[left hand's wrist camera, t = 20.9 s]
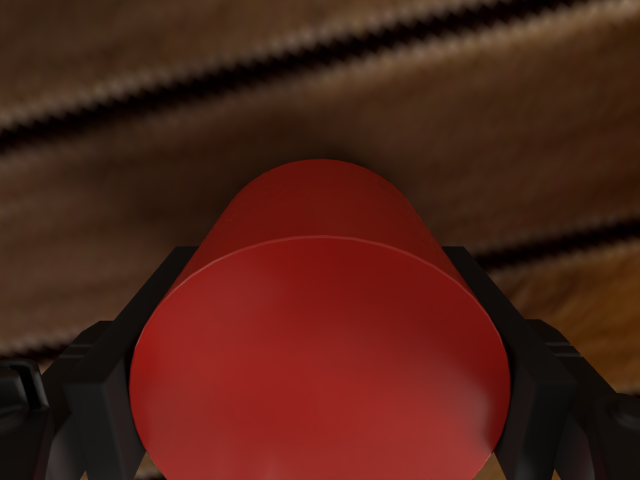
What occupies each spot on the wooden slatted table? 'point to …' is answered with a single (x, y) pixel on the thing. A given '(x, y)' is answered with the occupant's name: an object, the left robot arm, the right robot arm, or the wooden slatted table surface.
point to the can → (319, 343)
